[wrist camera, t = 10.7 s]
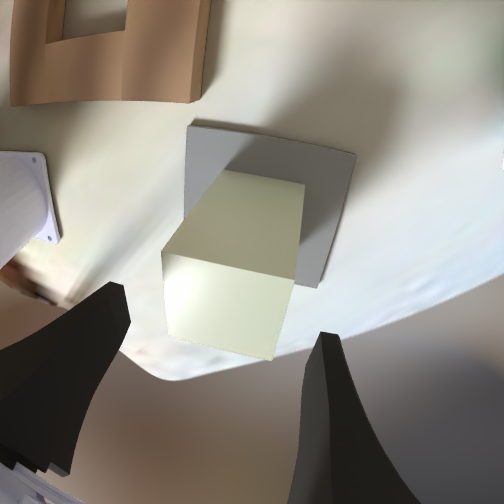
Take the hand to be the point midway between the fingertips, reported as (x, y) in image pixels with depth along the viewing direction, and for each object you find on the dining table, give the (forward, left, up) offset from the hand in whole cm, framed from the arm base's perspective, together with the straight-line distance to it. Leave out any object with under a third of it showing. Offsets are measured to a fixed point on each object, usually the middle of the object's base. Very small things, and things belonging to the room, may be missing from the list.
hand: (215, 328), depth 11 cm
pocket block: (-11, +13, -9) cm, 19 cm away
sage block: (0, 0, -9) cm, 9 cm away
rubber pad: (0, 0, -9) cm, 9 cm away
